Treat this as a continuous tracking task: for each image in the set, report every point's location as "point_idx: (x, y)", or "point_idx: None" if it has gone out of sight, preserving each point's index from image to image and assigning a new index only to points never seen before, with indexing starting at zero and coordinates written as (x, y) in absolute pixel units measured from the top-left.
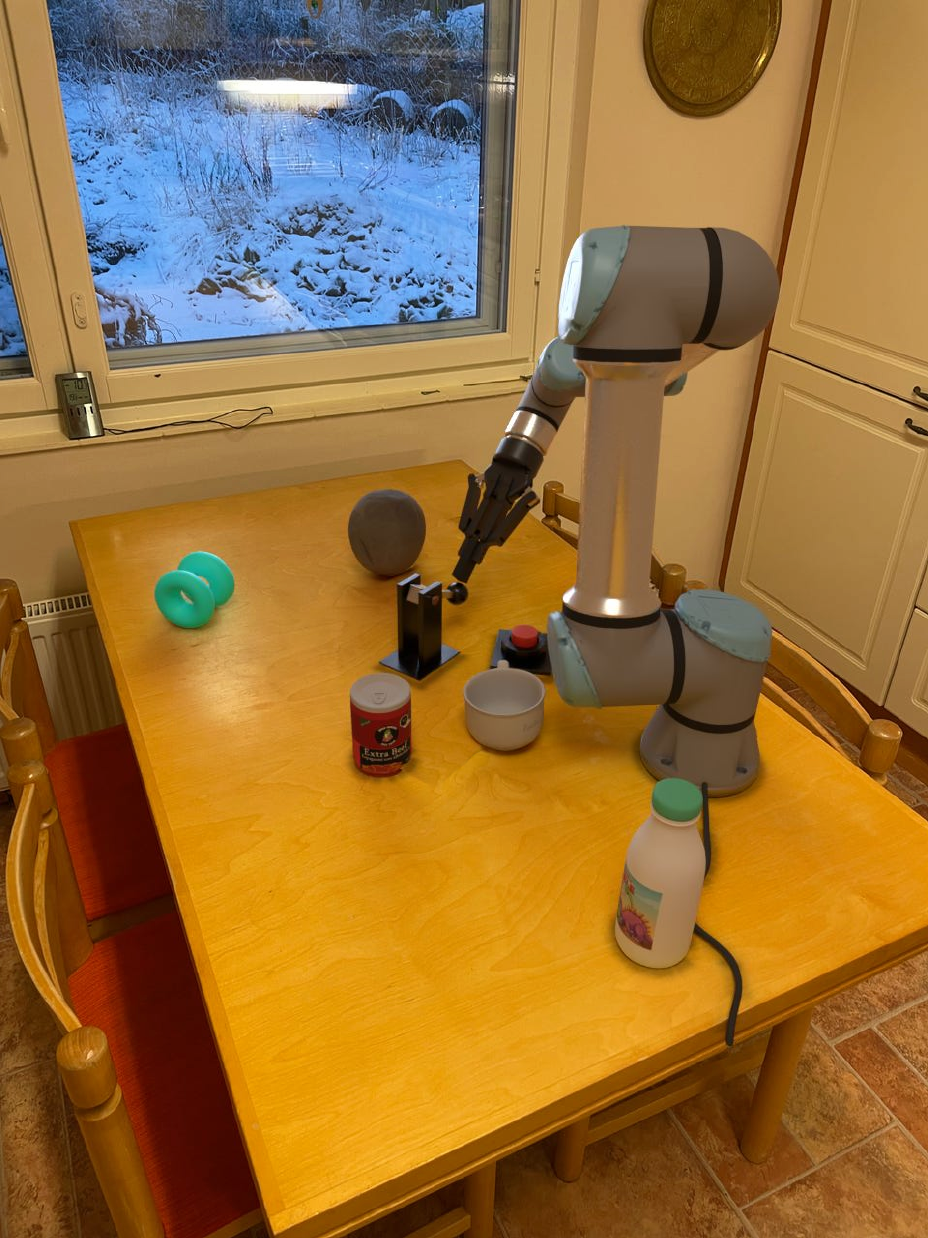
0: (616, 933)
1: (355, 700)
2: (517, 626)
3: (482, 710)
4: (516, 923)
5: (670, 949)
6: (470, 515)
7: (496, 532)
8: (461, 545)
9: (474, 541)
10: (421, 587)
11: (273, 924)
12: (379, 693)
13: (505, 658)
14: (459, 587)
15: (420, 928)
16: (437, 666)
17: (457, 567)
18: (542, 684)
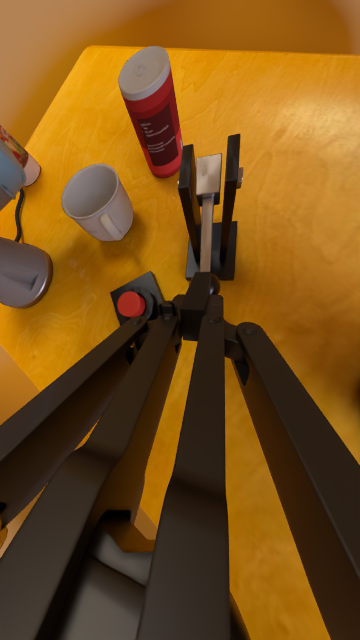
0: (34, 159)
1: (151, 47)
2: (137, 307)
3: (94, 165)
4: (69, 145)
5: None
6: (252, 381)
7: (129, 329)
8: (222, 306)
9: (187, 305)
10: (202, 165)
11: None
12: (142, 71)
13: (145, 286)
14: None
15: (97, 117)
16: (189, 248)
17: (205, 276)
18: (66, 212)
